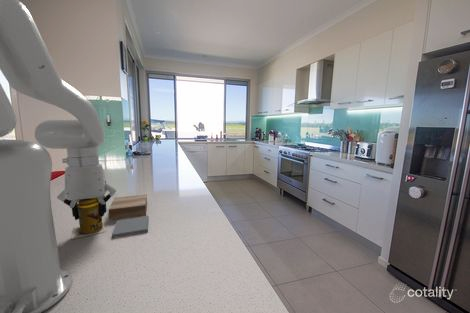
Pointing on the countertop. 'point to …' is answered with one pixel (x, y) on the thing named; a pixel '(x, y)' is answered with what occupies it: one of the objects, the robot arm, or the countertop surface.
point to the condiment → (88, 218)
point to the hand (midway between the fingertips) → (90, 215)
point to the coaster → (131, 226)
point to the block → (128, 207)
